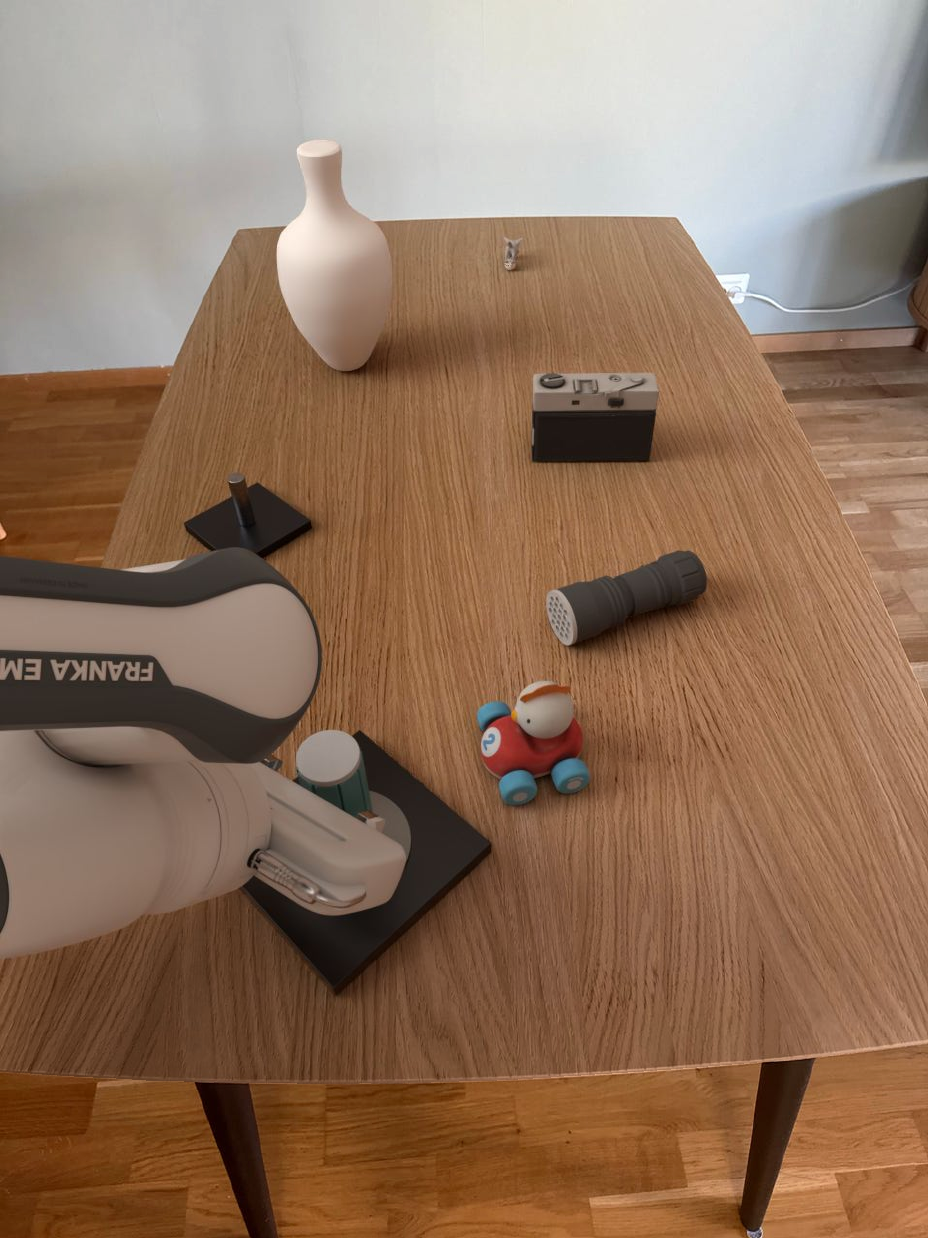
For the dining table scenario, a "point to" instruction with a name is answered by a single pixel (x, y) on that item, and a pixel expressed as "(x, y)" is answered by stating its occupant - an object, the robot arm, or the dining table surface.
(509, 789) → the toy car
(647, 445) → the camera
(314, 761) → the teal ribbed pillar
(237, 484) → the black peg stand
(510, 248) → the dog figurine
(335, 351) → the vase
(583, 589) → the flashlight
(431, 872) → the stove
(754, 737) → the dining table surface
